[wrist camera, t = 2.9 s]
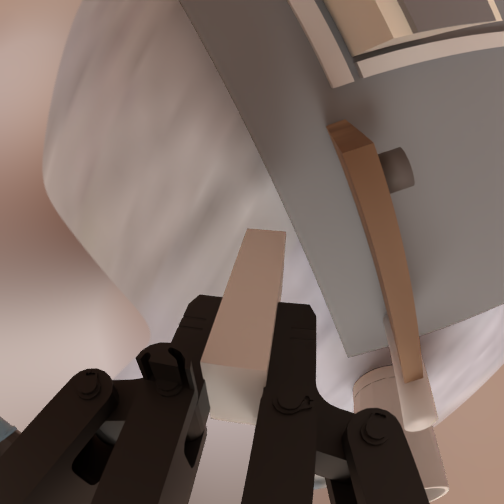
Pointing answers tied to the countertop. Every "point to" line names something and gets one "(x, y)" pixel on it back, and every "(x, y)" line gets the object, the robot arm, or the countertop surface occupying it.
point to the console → (384, 138)
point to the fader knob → (404, 20)
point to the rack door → (383, 231)
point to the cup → (420, 442)
